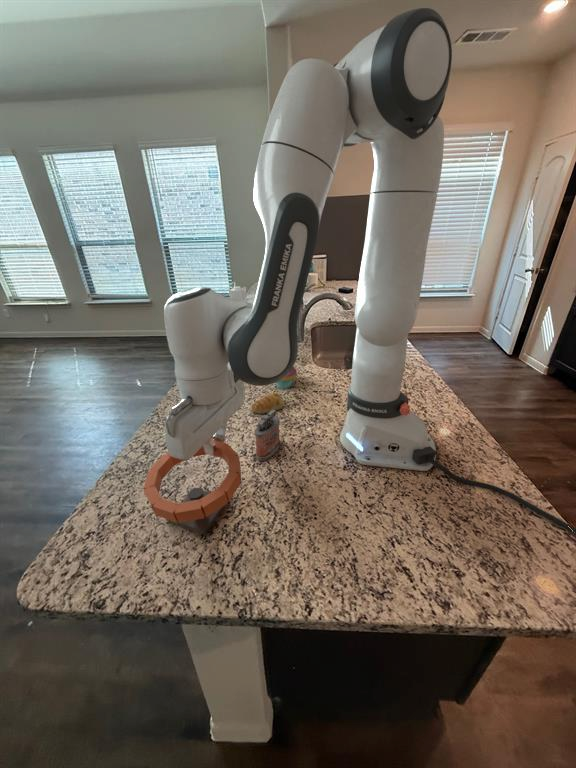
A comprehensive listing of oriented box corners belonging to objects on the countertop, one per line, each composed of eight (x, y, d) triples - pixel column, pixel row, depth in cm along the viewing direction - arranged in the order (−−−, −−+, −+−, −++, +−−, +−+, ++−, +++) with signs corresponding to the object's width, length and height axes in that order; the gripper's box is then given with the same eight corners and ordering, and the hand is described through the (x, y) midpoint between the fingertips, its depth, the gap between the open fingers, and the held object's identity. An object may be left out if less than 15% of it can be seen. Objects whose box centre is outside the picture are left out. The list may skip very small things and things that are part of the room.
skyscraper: (230, 347, 138) (223, 282, 125) (247, 344, 141) (242, 280, 128) (235, 354, 131) (228, 285, 118) (253, 351, 134) (249, 283, 121)
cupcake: (267, 388, 103) (265, 354, 98) (278, 377, 110) (276, 345, 105) (291, 392, 101) (291, 358, 95) (300, 381, 108) (300, 349, 102)
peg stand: (228, 501, 62) (225, 483, 59) (205, 535, 55) (201, 516, 53) (194, 491, 64) (191, 472, 62) (168, 522, 58) (163, 503, 55)
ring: (255, 458, 60) (254, 449, 59) (209, 534, 47) (206, 524, 46) (186, 442, 65) (183, 433, 64) (128, 506, 53) (123, 496, 51)
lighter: (264, 462, 72) (262, 426, 67) (252, 457, 73) (249, 422, 69) (283, 443, 78) (282, 409, 73) (272, 439, 79) (270, 405, 75)
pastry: (260, 418, 88) (259, 407, 86) (247, 409, 92) (246, 397, 91) (286, 407, 93) (285, 396, 91) (272, 398, 98) (272, 387, 96)
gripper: (181, 419, 45) (197, 489, 51) (247, 364, 62) (253, 422, 68) (147, 411, 47) (166, 480, 54) (219, 360, 64) (228, 417, 70)
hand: (215, 447), depth 61 cm, fingers closed on ring, 2 cm apart
